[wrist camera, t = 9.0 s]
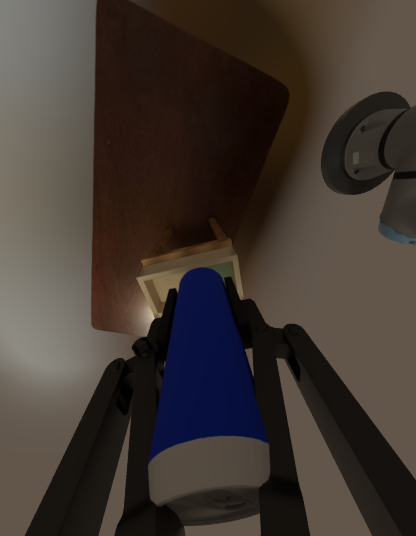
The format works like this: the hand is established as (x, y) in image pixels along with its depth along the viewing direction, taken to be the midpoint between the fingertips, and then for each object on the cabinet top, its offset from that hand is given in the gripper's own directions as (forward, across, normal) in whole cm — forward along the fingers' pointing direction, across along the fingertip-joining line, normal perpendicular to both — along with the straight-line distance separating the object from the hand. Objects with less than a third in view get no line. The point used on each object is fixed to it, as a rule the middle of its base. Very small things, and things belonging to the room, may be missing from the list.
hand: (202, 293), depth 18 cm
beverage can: (+2, 0, 0) cm, 2 cm away
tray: (+10, -2, -3) cm, 11 cm away
